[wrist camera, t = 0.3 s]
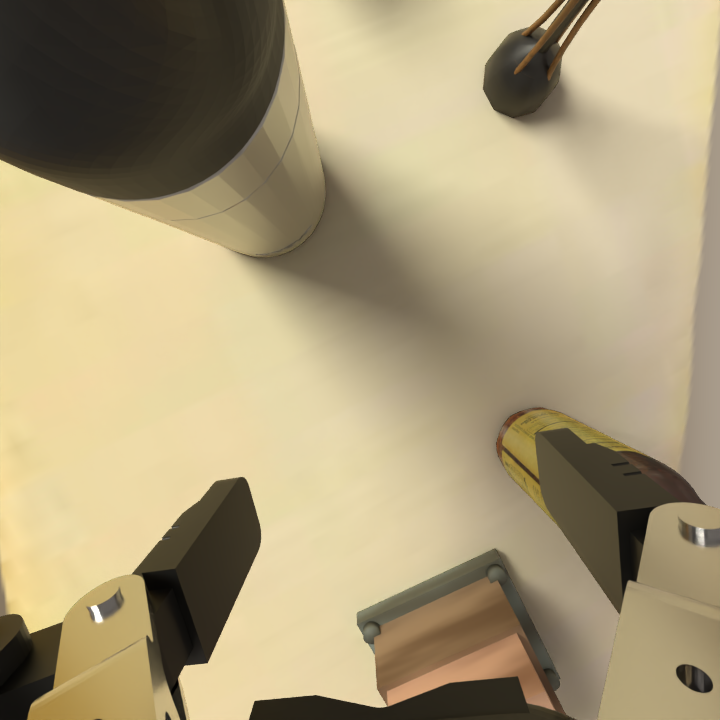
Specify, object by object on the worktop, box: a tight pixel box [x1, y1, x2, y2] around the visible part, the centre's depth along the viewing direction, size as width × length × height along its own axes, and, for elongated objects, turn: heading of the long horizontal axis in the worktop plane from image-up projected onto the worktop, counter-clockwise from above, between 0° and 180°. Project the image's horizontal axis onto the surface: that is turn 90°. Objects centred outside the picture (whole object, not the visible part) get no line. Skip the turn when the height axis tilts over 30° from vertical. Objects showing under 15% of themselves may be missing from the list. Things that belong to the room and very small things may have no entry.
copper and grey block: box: [357, 549, 566, 715], centre depth 29 cm, size 13×13×10 cm
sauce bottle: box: [496, 408, 706, 528], centre depth 21 cm, size 7×6×20 cm
